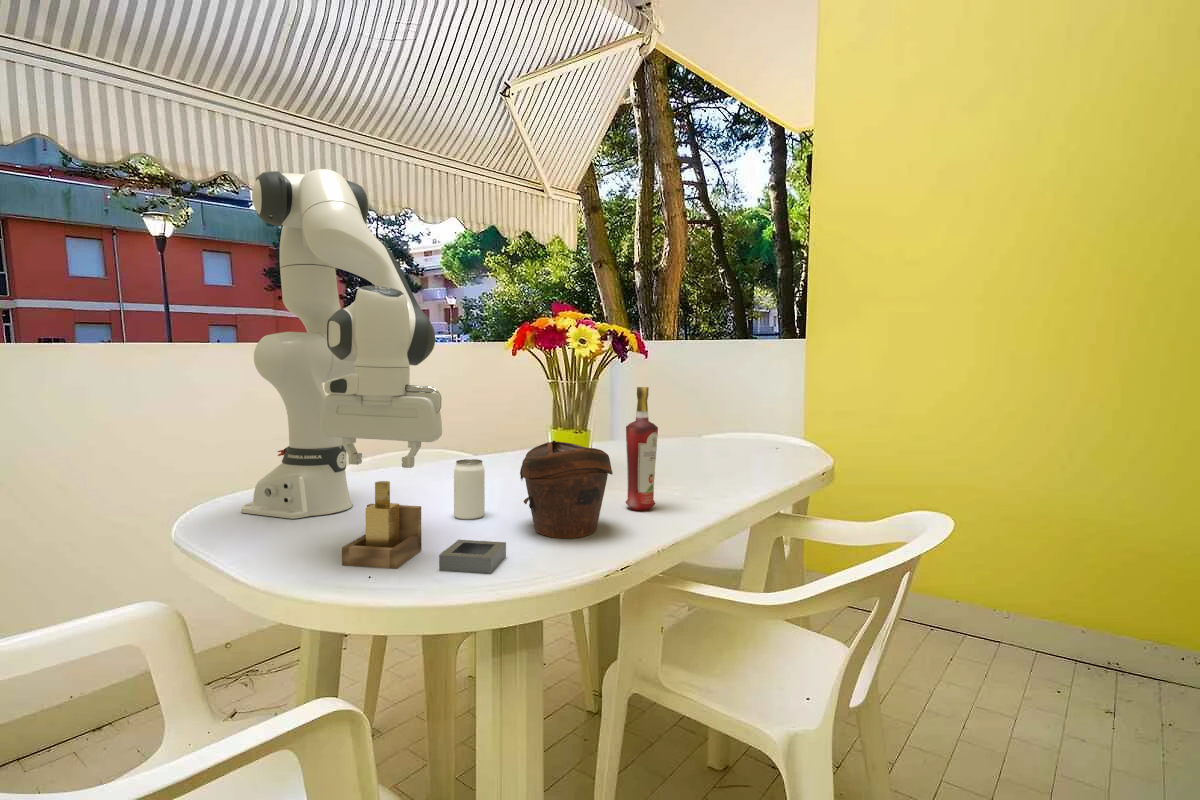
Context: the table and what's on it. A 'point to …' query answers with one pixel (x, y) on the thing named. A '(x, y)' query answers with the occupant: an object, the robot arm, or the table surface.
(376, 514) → the brass peg block
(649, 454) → the liquor
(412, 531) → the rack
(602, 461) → the case
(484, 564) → the socket block
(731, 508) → the table surface
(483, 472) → the can
